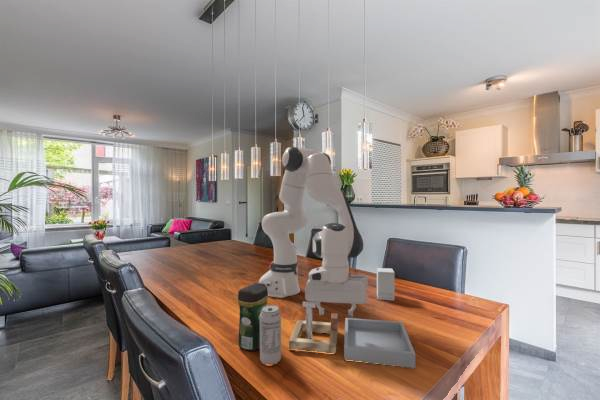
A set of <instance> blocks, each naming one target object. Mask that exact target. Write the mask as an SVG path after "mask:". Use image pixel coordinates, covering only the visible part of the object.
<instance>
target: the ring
mask: <svg viewBox="0 0 600 400" xmlns="http://www.w3.org/2000/svg"><path fill="white" fill-rule="evenodd" d="M338 315H339V313H334V312H331V316H330V322H325V321H315V320H314V321H313V320H312V332H316V333H315V334H322V333H327V334H326V335H329V339H328V340H321V339H313V338H312V339H306V338H301V337H302V333H303V332H302V331H306V320H300V319H298V320H297V321H296V323H295V326H294V328H293V330H292V333H291V335H290V337H289V340H288V350H289V349H297V350H306V351H317V352H326V353H334V354H335V353H336V354H337V347H336V345H338V343H337V342H338V336H337V335H338V333H339V323H338V318H339V317H338ZM300 336H301V337H300Z"/></svg>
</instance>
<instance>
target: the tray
mask: <svg viewBox="0 0 600 400" xmlns="http://www.w3.org/2000/svg"><path fill="white" fill-rule="evenodd" d="M344 319H345V321H344V343H343V360H344V359H346V360H353V361H362V362H368V363H378V364H385V365H395V366H402V367H401V368H404V367H411V368H410V369H414V368H415V369H416V352H415V350H414V348H413V345H412V342H411V339H410V337H409V335H408V332H407V330H406V327H405V326H404V322H403V321H396V320H395V321H394V320H380V319H369V318H368V319H367V318H356V317H345V318H344ZM385 365H384V366H385Z"/></svg>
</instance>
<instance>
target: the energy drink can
mask: <svg viewBox="0 0 600 400" xmlns="http://www.w3.org/2000/svg"><path fill="white" fill-rule="evenodd" d="M281 359H282V312H281V311H280V308H279V306H278V305H275V304H269V305H268V304H267V306H264V307H263V308H262V311H261V313H260V348H259V361H260V362H261V364H262V363H264V364H275V363H277V362H280V361H281Z"/></svg>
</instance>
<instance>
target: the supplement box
mask: <svg viewBox="0 0 600 400" xmlns="http://www.w3.org/2000/svg"><path fill="white" fill-rule="evenodd" d="M395 283H396V282H395V271H394V270H393V268H391V267H390V268H386V267H384V268H383V267H376V297H377V300H383V301H393V302H394V301H395V299H396V298H395V297H396V296H395V292H396V291H395V290H396V289H395V285H396V284H395Z"/></svg>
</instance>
